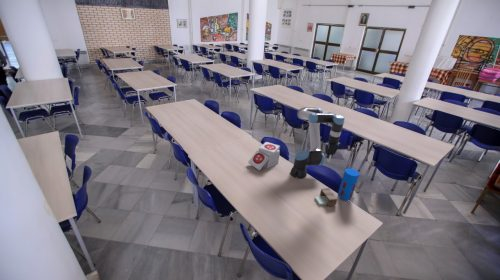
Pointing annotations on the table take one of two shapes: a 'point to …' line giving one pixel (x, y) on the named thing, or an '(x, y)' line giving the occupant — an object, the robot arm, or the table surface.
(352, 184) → the thermos
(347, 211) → the table surface
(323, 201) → the board
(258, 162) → the pizza boxes
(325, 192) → the tan notched block
